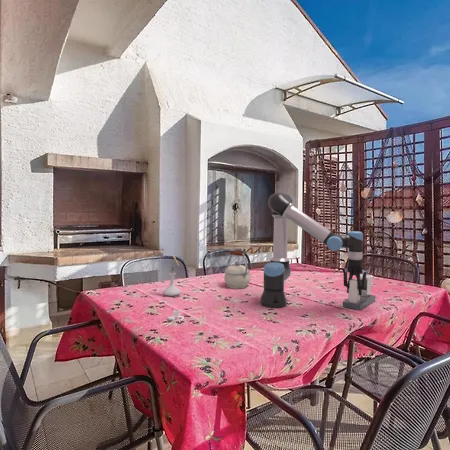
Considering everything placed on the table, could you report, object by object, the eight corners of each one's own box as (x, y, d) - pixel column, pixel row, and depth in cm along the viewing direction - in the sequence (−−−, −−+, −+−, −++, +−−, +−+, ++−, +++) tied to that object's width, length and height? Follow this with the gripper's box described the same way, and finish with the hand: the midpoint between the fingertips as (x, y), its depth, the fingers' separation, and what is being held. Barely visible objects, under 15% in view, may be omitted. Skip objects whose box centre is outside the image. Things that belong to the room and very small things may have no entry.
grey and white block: (342, 306, 190) (343, 282, 190) (358, 297, 210) (359, 275, 209) (360, 310, 184) (361, 285, 183) (375, 300, 204) (375, 277, 203)
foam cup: (360, 292, 222) (360, 273, 222) (374, 295, 216) (375, 275, 215) (354, 295, 215) (354, 275, 215) (368, 298, 209) (369, 277, 208)
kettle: (256, 287, 235) (257, 252, 233) (235, 291, 224) (236, 254, 223) (235, 281, 255) (236, 248, 254) (215, 284, 245) (215, 250, 244)
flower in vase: (177, 297, 207) (177, 257, 206) (160, 296, 209) (159, 256, 208) (184, 292, 220) (184, 254, 219) (167, 291, 222) (167, 254, 221)
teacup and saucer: (168, 322, 163) (168, 314, 163) (165, 317, 170) (165, 309, 170) (186, 320, 167) (186, 312, 166) (181, 315, 174) (181, 307, 174)
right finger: (356, 304, 187) (356, 281, 187) (349, 302, 190) (349, 280, 189) (359, 302, 191) (359, 279, 190) (352, 301, 193) (352, 278, 193)
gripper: (337, 258, 192) (336, 298, 193) (368, 261, 180) (367, 304, 182) (342, 256, 197) (341, 295, 198) (373, 259, 186) (371, 301, 187)
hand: (354, 299), depth 190 cm, fingers closed on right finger, 4 cm apart
